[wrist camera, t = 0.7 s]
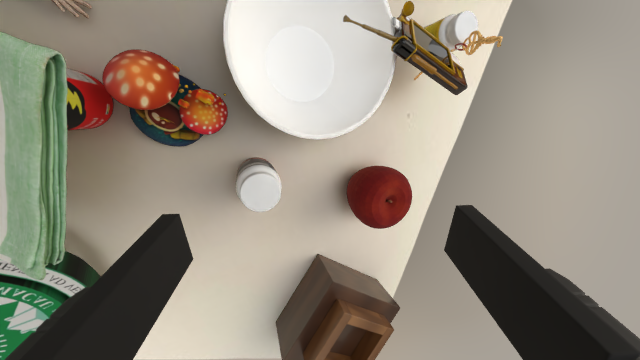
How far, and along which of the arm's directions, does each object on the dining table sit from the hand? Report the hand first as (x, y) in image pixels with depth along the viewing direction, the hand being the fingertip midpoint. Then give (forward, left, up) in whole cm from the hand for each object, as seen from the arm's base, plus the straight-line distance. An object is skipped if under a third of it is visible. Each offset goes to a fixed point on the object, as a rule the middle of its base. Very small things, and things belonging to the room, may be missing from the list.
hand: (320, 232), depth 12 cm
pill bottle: (0, -4, -27) cm, 28 cm away
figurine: (-13, -1, -27) cm, 30 cm away
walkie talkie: (+15, +23, -18) cm, 33 cm away
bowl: (-2, +14, -27) cm, 30 cm away
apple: (+17, +3, -27) cm, 32 cm away
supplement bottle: (+13, +29, -27) cm, 42 cm away
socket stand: (+24, -19, -27) cm, 41 cm away
